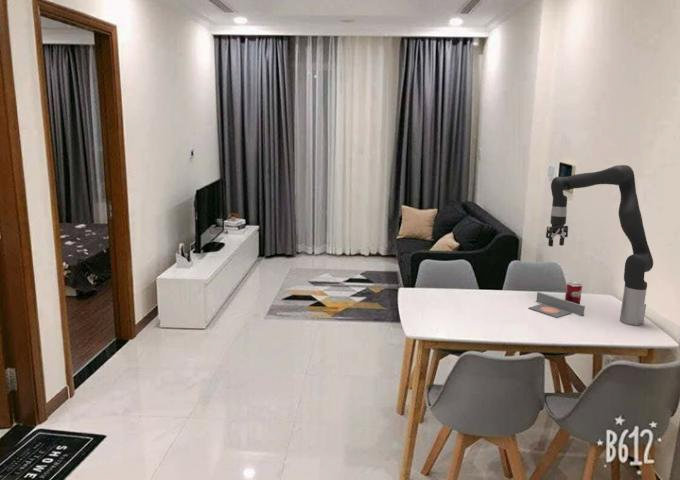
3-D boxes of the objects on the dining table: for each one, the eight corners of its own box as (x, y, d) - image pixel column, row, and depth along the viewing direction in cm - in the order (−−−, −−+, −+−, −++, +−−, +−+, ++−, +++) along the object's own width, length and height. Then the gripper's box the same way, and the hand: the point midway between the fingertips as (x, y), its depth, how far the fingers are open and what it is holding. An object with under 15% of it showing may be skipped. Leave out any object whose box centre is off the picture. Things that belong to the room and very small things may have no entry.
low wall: (583, 315, 270) (584, 306, 269) (582, 316, 269) (583, 306, 268) (537, 301, 290) (538, 292, 289) (536, 301, 290) (537, 292, 289)
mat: (571, 313, 272) (571, 312, 272) (556, 318, 265) (557, 316, 265) (542, 304, 285) (543, 303, 285) (528, 308, 278) (528, 307, 278)
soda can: (561, 305, 284) (563, 283, 282) (571, 303, 288) (574, 281, 285) (572, 309, 278) (575, 287, 276) (582, 308, 281) (585, 285, 279)
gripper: (555, 216, 282) (552, 247, 285) (573, 215, 290) (571, 246, 292) (543, 214, 289) (541, 245, 291) (561, 214, 296) (559, 243, 299)
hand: (556, 245), depth 292 cm, fingers open, 8 cm apart
